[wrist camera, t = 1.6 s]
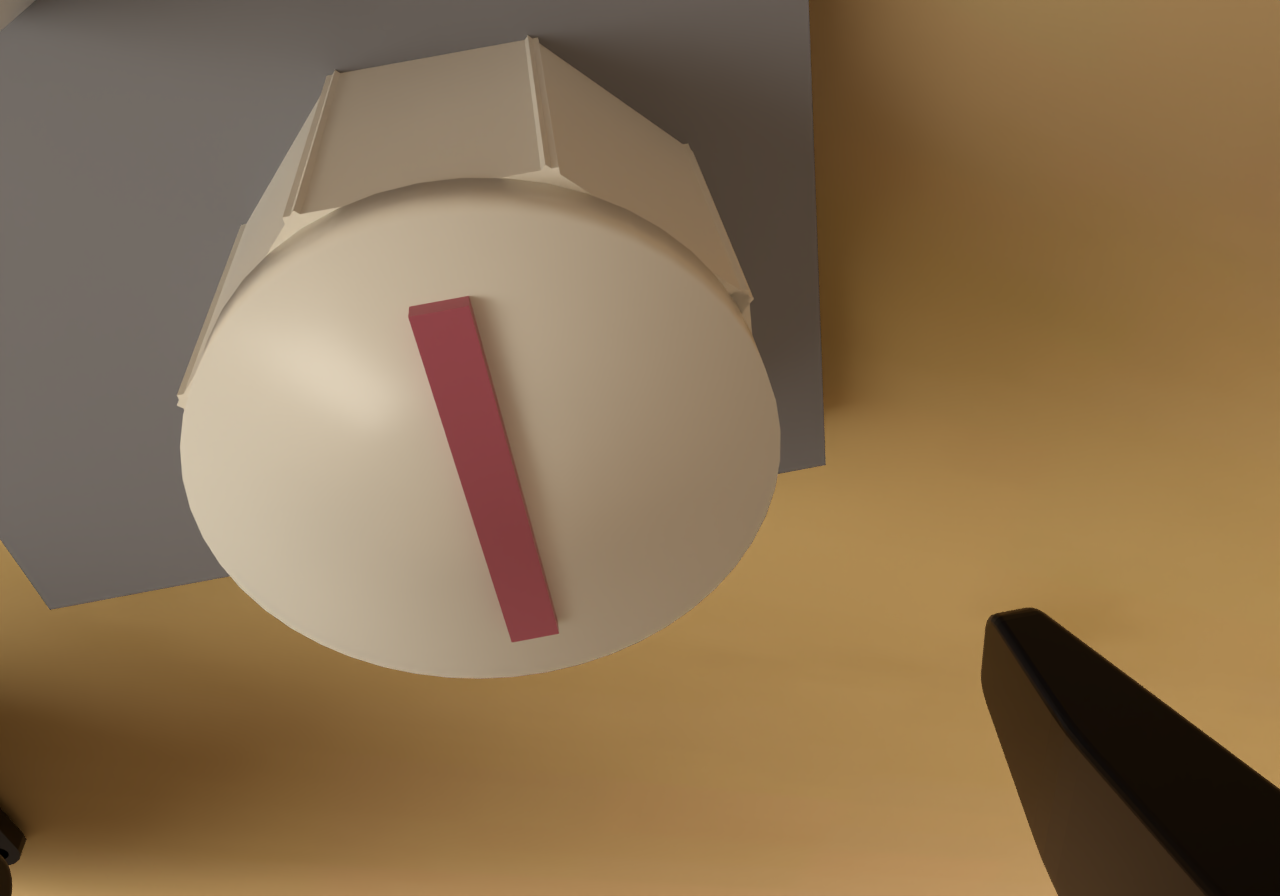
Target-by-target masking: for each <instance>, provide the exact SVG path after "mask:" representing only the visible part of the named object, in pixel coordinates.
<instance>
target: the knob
mask: <svg viewBox="0 0 1280 896" xmlns="http://www.w3.org/2000/svg"><path fill="white" fill-rule="evenodd" d="M753 299H754V298H753V296H752V293H751V291H750V288H749V286H748V284H747V281H746V279H745V276H744V274H743V271H742V269H741V267H740V264H739V262H738V259H737V257H736V255H735V252H734V250H733V247H732V245H731V242H730V240H729V238H728V235H727V233H726V230H725V228H724V226H723V223H722V221H721V218H720V216H719V213H718V211H717V209H716V206H715V204H714V201H713V199H712V197H711V194H710V192H709V189H708V187H707V184H706V182H705V180H704V177H703V175H702V172H701V170H700V168H699V165H698V163H697V160H696V158H695V155H694V153H693V151H692V150H691V149H690V147H689V144H688V143H687V144H682V143H680V142H679V141H678V140H676V139H675V138H673V137H672V136H670V135H669V134H668V133H666V132H665V131H663V130H662V129H660V128H659V127H658V126H656V125H655V124H653V123H652V122H650V121H649V120H648V119H646V118H645V117H643V116H642V115H641V114H639V113H638V112H636V111H635V110H633V109H632V108H631V107H629V106H628V105H626V104H625V103H623V102H622V101H621V100H619V99H618V98H616V97H615V96H614V95H612V94H611V93H609V92H608V91H606V90H605V89H604V88H602V87H601V86H599V85H598V84H596V83H595V82H594V81H592V80H591V79H589V78H588V77H587V76H585V75H584V74H582V73H581V72H579V71H578V70H577V69H575V68H574V67H572V66H571V65H569V64H568V63H567V62H565V61H564V60H562V59H561V58H560V57H558V56H557V55H555V54H554V53H552V52H551V51H550V50H548V49H547V48H545V47H544V46H542V45H541V44H540V43H539V40H538V38H531V37H530V36H528V35H527V37H526V38H525V40H521V41H516V42H510V43H505V44H499V45H494V46H488V47H482V48H477V49H471V50H466V51H460V52H455V53H449V54H444V55H438V56H433V57H427V58H422V59H416V60H411V61H405V62H399V63H394V64H388V65H383V66H377V67H372V68H366V69H361V70H355V71H350V72H344V73H339V72H338V71H336V70H335V71H334V73H333V74H332V75H328V76H326V80H325V83H324V86H323V89H322V92H321V95H320V97H319V99H318V100H317V102H316V104H315V106H314V107H313V109H312V111H311V113H310V114H309V116H308V118H307V120H306V121H305V123H304V125H303V126H302V128H301V130H300V132H299V133H298V135H297V137H296V139H295V140H294V142H293V144H292V146H291V147H290V149H289V151H288V152H287V154H286V156H285V158H284V159H283V161H282V163H281V165H280V166H279V168H278V170H277V172H276V173H275V175H274V177H273V178H272V180H271V182H270V184H269V185H268V187H267V189H266V191H265V192H264V194H263V196H262V198H261V199H260V201H259V203H258V204H257V206H256V208H255V210H254V211H253V213H252V215H251V217H250V218H249V220H248V222H247V224H243V225H241V226H240V229H239V231H238V234H237V237H236V239H235V242H234V245H233V247H232V250H231V253H230V255H229V258H228V261H227V263H226V266H225V269H224V271H223V274H222V277H221V279H220V282H219V285H218V287H217V290H216V293H215V295H214V298H213V300H212V303H211V306H210V308H209V311H208V314H207V316H206V319H205V322H204V324H203V327H202V330H201V332H200V335H199V338H198V340H197V343H196V346H195V348H194V351H193V354H192V356H191V359H190V362H189V364H188V367H187V369H186V372H185V375H184V377H183V380H182V383H181V385H180V388H179V391H178V393H177V397H178V399H179V401H178V403H177V406H179V407H181V408H183V409H184V413H183V420H182V430H181V441H180V454H181V467H182V479H183V483H184V487H185V490H186V494H187V498H188V502H189V506H190V510H191V512H192V514H193V516H194V519H195V521H196V523H197V525H198V528H199V530H200V532H201V534H202V537H203V539H204V540H205V542H206V543H207V545H208V546H209V548H210V549H211V551H212V553H213V554H214V556H215V557H216V559H217V560H218V562H219V564H220V565H221V566H222V567H223V568H224V570H225V571H226V572H227V573H228V574H229V575H230V576H231V578H232V579H233V580H234V581H235V582H236V583H237V585H238V586H239V587H240V588H241V589H242V590H243V591H244V592H245V593H246V594H248V595H249V596H250V597H251V598H252V599H253V600H254V601H255V602H257V603H258V604H259V605H260V606H261V607H262V608H263V609H264V610H266V611H267V612H268V613H270V614H271V615H273V616H274V617H276V618H277V619H279V620H280V621H281V622H283V623H284V624H286V625H287V626H289V627H290V628H291V629H293V630H295V631H297V632H299V633H301V634H302V635H304V636H306V637H308V638H310V639H312V640H313V641H315V642H317V643H319V644H321V645H323V646H326V647H328V648H330V649H333V650H335V651H338V652H340V653H342V654H345V655H347V656H350V657H352V658H355V659H359V660H362V661H365V662H369V663H372V664H375V665H378V666H382V667H386V668H390V669H395V670H400V671H405V672H410V673H414V674H422V675H431V676H439V677H448V678H478V679H484V678H502V677H517V676H524V675H531V674H538V673H545V672H550V671H555V670H559V669H563V668H567V667H572V666H576V665H580V664H583V663H586V662H589V661H592V660H595V659H598V658H601V657H604V656H607V655H610V654H613V653H615V652H617V651H620V650H622V649H624V648H626V647H629V646H631V645H633V644H636V643H638V642H640V641H642V640H644V639H645V638H647V637H649V636H651V635H653V634H654V633H656V632H658V631H660V630H662V629H663V628H665V627H667V626H668V625H670V624H671V623H673V622H674V621H676V620H677V619H678V618H680V617H681V616H683V615H684V614H686V613H687V612H688V611H690V610H691V609H693V608H694V607H695V606H696V605H697V604H698V603H700V602H701V601H702V600H703V599H704V598H705V597H706V596H708V595H709V594H710V593H711V592H712V591H713V590H714V589H716V587H717V586H718V585H719V584H720V583H721V582H722V581H723V580H724V579H725V577H726V576H727V575H728V574H729V573H730V572H731V571H732V570H733V569H734V568H735V566H736V565H737V564H738V562H739V561H740V559H741V558H742V556H743V555H744V553H745V552H746V551H747V549H748V548H749V546H750V545H751V543H752V542H753V540H754V538H755V536H756V534H757V532H758V530H759V528H760V526H761V524H762V522H763V520H764V518H765V517H766V514H767V511H768V508H769V505H770V502H771V499H772V496H773V493H774V490H775V486H776V480H777V475H778V469H779V463H780V424H779V417H778V411H777V404H776V399H775V396H774V393H773V390H772V387H771V384H770V381H769V378H768V375H767V372H766V369H765V367H764V364H763V361H762V359H761V356H760V354H759V351H758V349H757V346H756V343H755V341H754V338H753V336H752V326H751V314H750V303H751V302H752V301H753Z"/></svg>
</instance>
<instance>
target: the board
mask: <svg viewBox="0 0 1280 896" xmlns="http://www.w3.org/2000/svg"><path fill="white" fill-rule="evenodd" d="M527 35H528V36H530V37H531V38H538V40H539V43H540V44H541V45H542V46H544V47H545V48H547V49H548V50H550V51H551V52H552V53H554V54H555V55H557V56H558V57H560V58H561V59H562V60H564V61H565V62H567V63H568V64H569V65H571V66H572V67H574V68H575V69H577V70H578V71H579V72H581V73H582V74H584V75H585V76H587V77H588V78H589V79H591V80H592V81H594V82H595V83H596V84H598V85H599V86H601V87H602V88H604V89H605V90H606V91H608V92H609V93H611V94H612V95H614V96H615V97H616V98H618V99H619V100H621V101H622V102H623V103H625V104H626V105H628V106H629V107H631V108H632V109H633V110H635V111H636V112H638V113H639V114H641V115H642V116H643V117H645V118H646V119H648V120H649V121H650V122H652V123H653V124H655V125H656V126H658V127H659V128H660V129H662V130H663V131H665V132H666V133H668V134H669V135H670V136H672V137H673V138H675V139H676V140H678V141H679V142H680V143H682V144H687V143H688V144H689V147H690V149H691V150H692V151H693V153H694V155H695V158H696V160H697V163H698V165H699V168H700V170H701V172H702V175H703V177H704V180H705V182H706V184H707V187H708V189H709V192H710V194H711V197H712V199H713V201H714V204H715V206H716V209H717V211H718V213H719V216H720V218H721V221H722V223H723V226H724V228H725V230H726V233H727V235H728V238H729V240H730V242H731V245H732V247H733V250H734V252H735V255H736V257H737V259H738V262H739V264H740V267H741V269H742V271H743V274H744V276H745V279H746V281H747V284H748V286H749V288H750V291H751V293H752V296H753V298H754V299H753V301H752V302H751V303H750V314H751V326H752V336H753V338H754V341H755V343H756V346H757V349H758V351H759V354H760V356H761V359H762V361H763V364H764V367H765V369H766V372H767V375H768V378H769V381H770V384H771V387H772V390H773V393H774V396H775V399H776V404H777V411H778V417H779V424H780V463H779V469H778V474H780V473H785V472H790V471H796V470H801V469H806V468H812V467H817V466H822V465H826V464H825V436H824V409H823V381H822V354H821V326H820V299H819V271H818V244H817V216H816V189H815V161H814V134H813V106H812V79H811V51H810V24H809V0H0V540H1V541H2V542H3V544H4V545H5V547H6V548H7V550H8V551H9V552H10V554H11V555H12V557H13V558H14V559H15V561H16V562H17V564H18V565H19V567H20V568H21V569H22V571H23V572H24V574H25V575H26V576H27V578H28V579H29V581H30V582H31V584H32V585H33V586H34V588H35V589H36V591H37V592H38V594H39V595H40V596H41V598H42V599H43V601H44V602H45V603H46V605H47V606H48V608H49V609H50V610H51V609H56V608H62V607H67V606H72V605H78V604H83V603H88V602H94V601H99V600H105V599H110V598H115V597H121V596H126V595H131V594H137V593H142V592H147V591H153V590H158V589H163V588H169V587H174V586H180V585H185V584H190V583H196V582H201V581H206V580H212V579H217V578H222V577H228V576H230V575H229V574H228V573H227V572H226V571H225V570H224V568H223V567H222V566H221V565H220V564H219V562H218V560H217V559H216V557H215V556H214V554H213V553H212V551H211V549H210V548H209V546H208V545H207V543H206V542H205V540H204V539H203V537H202V534H201V532H200V530H199V528H198V525H197V523H196V521H195V519H194V516H193V514H192V512H191V510H190V506H189V502H188V498H187V494H186V490H185V487H184V483H183V479H182V467H181V454H180V441H181V430H182V420H183V413H184V409H183V408H181V407H179V406H177V403H178V401H179V399H178V397H177V393H178V391H179V388H180V385H181V383H182V380H183V377H184V375H185V372H186V369H187V367H188V364H189V362H190V359H191V356H192V354H193V351H194V348H195V346H196V343H197V340H198V338H199V335H200V332H201V330H202V327H203V324H204V322H205V319H206V316H207V314H208V311H209V308H210V306H211V303H212V300H213V298H214V295H215V293H216V290H217V287H218V285H219V282H220V279H221V277H222V274H223V271H224V269H225V266H226V263H227V261H228V258H229V255H230V253H231V250H232V247H233V245H234V242H235V239H236V237H237V234H238V231H239V229H240V226H241V225H243V224H247V222H248V220H249V218H250V217H251V215H252V213H253V211H254V210H255V208H256V206H257V204H258V203H259V201H260V199H261V198H262V196H263V194H264V192H265V191H266V189H267V187H268V185H269V184H270V182H271V180H272V178H273V177H274V175H275V173H276V172H277V170H278V168H279V166H280V165H281V163H282V161H283V159H284V158H285V156H286V154H287V152H288V151H289V149H290V147H291V146H292V144H293V142H294V140H295V139H296V137H297V135H298V133H299V132H300V130H301V128H302V126H303V125H304V123H305V121H306V120H307V118H308V116H309V114H310V113H311V111H312V109H313V107H314V106H315V104H316V102H317V100H318V99H319V97H320V95H321V92H322V89H323V86H324V83H325V80H326V76H328V75H332V74H333V73H334V71H335V70H336V71H338V72H339V73H344V72H350V71H355V70H361V69H366V68H372V67H377V66H383V65H388V64H394V63H399V62H405V61H411V60H416V59H422V58H427V57H433V56H438V55H444V54H449V53H455V52H460V51H466V50H471V49H477V48H482V47H488V46H494V45H499V44H505V43H510V42H516V41H521V40H525V38H526V37H527Z"/></svg>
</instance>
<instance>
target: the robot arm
mask: <svg viewBox="0 0 1280 896" xmlns="http://www.w3.org/2000/svg"><path fill="white" fill-rule="evenodd" d="M981 683H982V689H983V693H984V697H985V700H986V704H987V706H988V709H989V712H990V715H991V718H992V721H993V724H994V726H995V729H996V732H997V735H998V738H999V741H1000V743H1001V746H1002V749H1003V752H1004V755H1005V758H1006V760H1007V763H1008V766H1009V769H1010V772H1011V775H1012V778H1013V780H1014V783H1015V786H1016V789H1017V792H1018V795H1019V797H1020V800H1021V803H1022V806H1023V809H1024V812H1025V814H1026V817H1027V820H1028V823H1029V826H1030V829H1031V832H1032V834H1033V837H1034V840H1035V842H1036V845H1037V848H1038V850H1039V853H1040V856H1041V858H1042V861H1043V863H1044V865H1045V868H1046V870H1047V872H1048V874H1049V877H1050V879H1051V881H1052V883H1053V886H1054V888H1055V890H1056V892H1057V894H1058V896H1280V789H1279V788H1277V787H1276V786H1275V785H1273V784H1272V783H1271V782H1269V781H1268V780H1267V779H1265V778H1264V777H1263V776H1261V775H1260V774H1259V773H1257V772H1256V771H1255V770H1253V769H1252V768H1251V767H1249V766H1248V765H1247V764H1245V763H1244V762H1243V761H1241V760H1240V759H1239V758H1237V757H1236V756H1235V755H1233V754H1232V753H1231V752H1229V751H1228V750H1227V749H1225V748H1224V747H1223V746H1221V745H1220V744H1219V743H1217V742H1216V741H1215V740H1213V739H1212V738H1211V737H1209V736H1208V735H1207V734H1205V733H1204V732H1203V731H1201V730H1200V729H1199V728H1197V727H1196V726H1195V725H1193V724H1192V723H1191V722H1189V721H1188V720H1187V719H1185V718H1184V717H1183V716H1181V715H1180V714H1179V713H1177V712H1176V711H1175V710H1173V709H1172V708H1171V707H1169V706H1168V705H1167V704H1165V703H1164V702H1163V701H1161V700H1160V699H1159V698H1157V697H1156V696H1155V695H1153V694H1152V693H1151V692H1149V691H1148V690H1147V689H1145V688H1144V687H1143V686H1141V685H1140V684H1139V683H1137V682H1136V681H1135V680H1133V679H1132V678H1131V677H1129V676H1128V675H1127V674H1125V673H1124V672H1123V671H1121V670H1120V669H1119V668H1117V667H1116V666H1114V665H1113V664H1112V663H1110V662H1109V661H1108V660H1106V659H1105V658H1104V657H1102V656H1101V655H1100V654H1098V653H1097V652H1096V651H1094V650H1093V649H1092V648H1090V647H1089V646H1088V645H1086V644H1085V643H1084V642H1082V641H1081V640H1080V639H1078V638H1077V637H1076V636H1074V635H1073V634H1072V633H1070V632H1069V631H1068V630H1066V629H1065V628H1064V627H1062V626H1061V625H1060V624H1058V623H1057V622H1056V621H1054V620H1053V619H1052V618H1050V617H1049V616H1048V615H1046V614H1045V613H1043V612H1042V611H1040V610H1038V609H1035V608H1022V609H1016V610H1011V611H1006V612H1001V613H996V614H993V615H991V616H990V617H989V619H988V620H987V623H986V627H985V637H984V648H983V658H982V669H981ZM25 842H26V838H25V836H24V834H23V833H22V832H21V831H20V829H19V828H18V827H17V826H16V825H15V824H14V823H13V822H12V821H11V819H10V818H9V817H8V816H7V815H6V814H5V813H4V812H3V811H2V809H1V808H0V896H11V894H12V877H11V873H10V869H9V866H8V865H11V864H14V863H16V862H17V861H18V860H19V859H20V856H21V854H22V851H23V848H24V845H25Z"/></svg>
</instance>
